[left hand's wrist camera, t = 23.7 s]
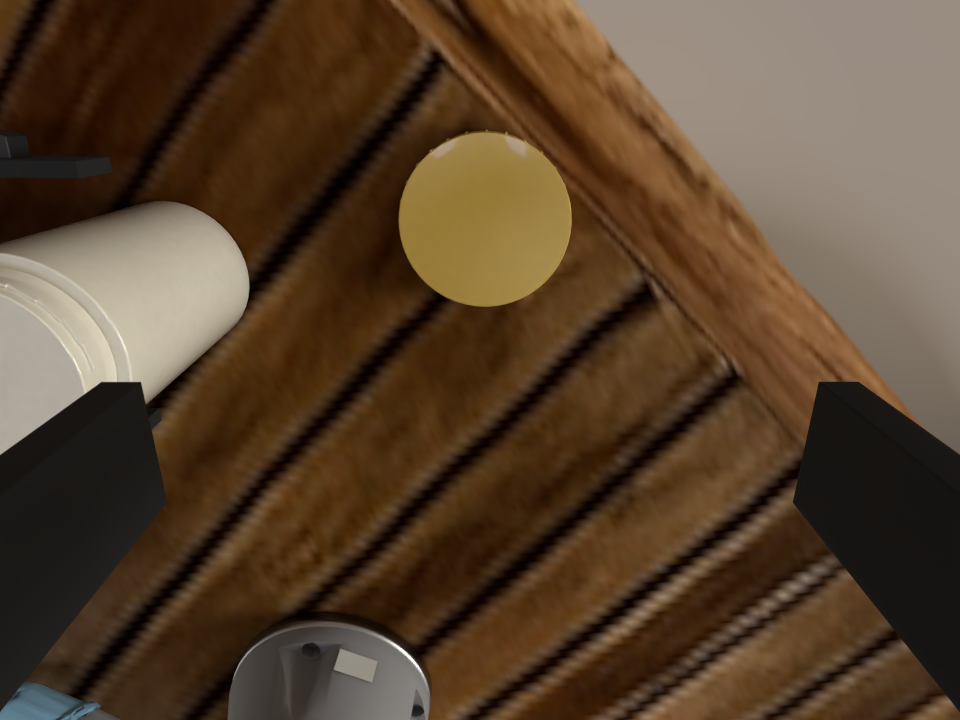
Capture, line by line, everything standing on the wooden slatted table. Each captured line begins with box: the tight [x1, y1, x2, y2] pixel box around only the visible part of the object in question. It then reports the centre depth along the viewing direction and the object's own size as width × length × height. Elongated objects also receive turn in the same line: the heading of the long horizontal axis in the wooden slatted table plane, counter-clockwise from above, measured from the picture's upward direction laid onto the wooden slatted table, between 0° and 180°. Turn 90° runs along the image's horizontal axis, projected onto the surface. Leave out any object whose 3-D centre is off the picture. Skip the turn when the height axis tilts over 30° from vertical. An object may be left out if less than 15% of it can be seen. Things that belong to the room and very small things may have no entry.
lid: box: [398, 129, 572, 307], centre depth 35 cm, size 10×9×2 cm
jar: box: [0, 201, 249, 455], centre depth 30 cm, size 9×9×16 cm
